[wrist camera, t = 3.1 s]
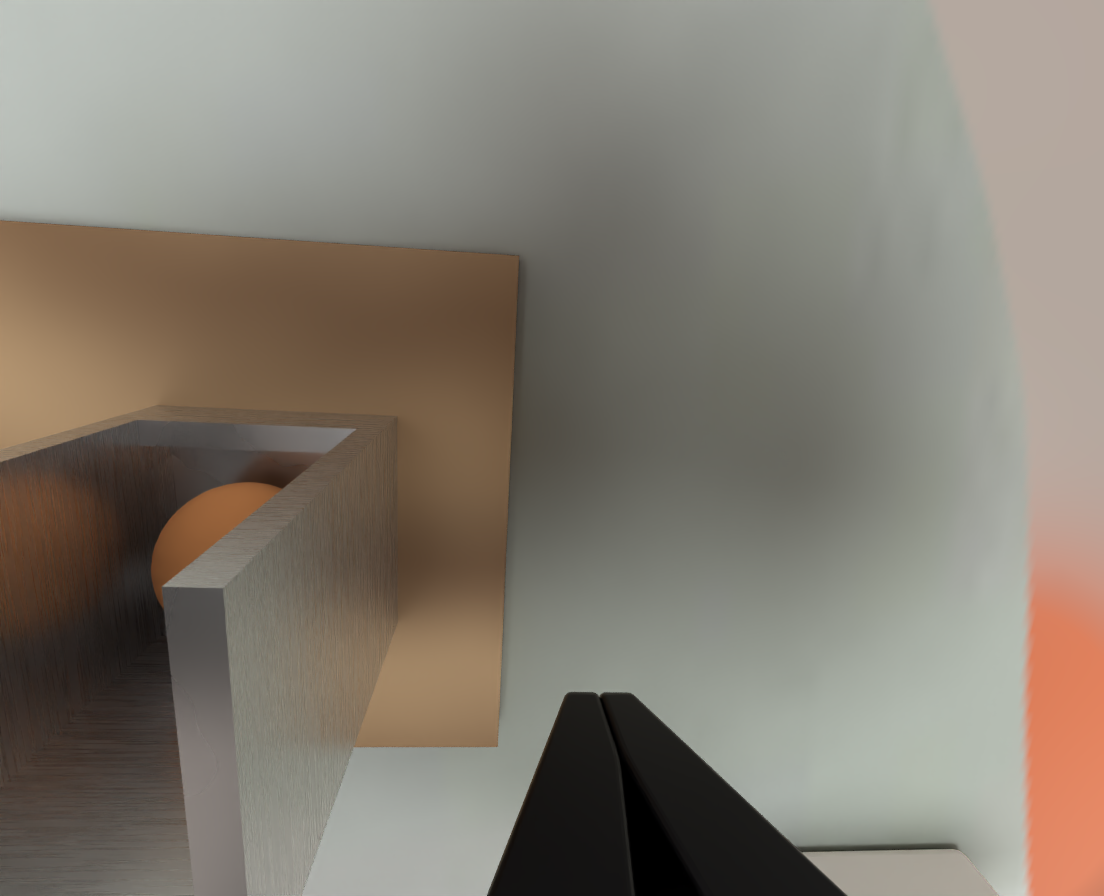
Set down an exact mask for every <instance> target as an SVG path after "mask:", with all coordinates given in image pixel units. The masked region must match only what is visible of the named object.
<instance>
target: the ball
mask: <svg viewBox="0 0 1104 896" xmlns="http://www.w3.org/2000/svg"><path fill="white" fill-rule="evenodd" d="M281 490H282V488H279V487H276V486H273V485H269V484H264V483H256V482H242V483H232V484H227V485H223V486H220V487H216V488H213V489H210V490H208V491H206V492H203V493H202V494H200V495H198V496H196V497H195V498H193V499H191V500H190V501H188V502H187V503H186V504H185V505H183V506H182V507H181V508H180V509H179V510H178V511H176V513H175V514H174V515H173V516H172V517H171V518H170V519H169V521H168V522H167V523H166V525H165V526H164V528H163V529H162V531H161V533H160V535H159V537H158V540H157V542H156V544H155V547H154V551H153V555H152V563H151V578H152V583H153V587H154V591H155V594H156V597H157V599H158V601H159V603H160V605H161V606H162V608H163V609H164V605H163V596H162V586H163V585H164V584H166V583H167V582H168V581H169V580H171V579H172V578H173V577H174V576H176V575H177V574H178V573H179V572H181V571H182V570H183V569H184V568H185V567H187V566H188V565H189V564H190V563H192V562H193V561H194V560H195V559H197V558H198V557H199V556H200V555H202V554H203V553H204V552H205V551H206V550H208V549H209V548H210V547H211V546H213V545H214V544H215V543H216V542H218V541H219V540H220V539H221V538H222V537H224V536H225V535H226V534H227V533H229V532H230V531H231V530H232V529H234V528H235V527H236V526H237V525H239V524H240V523H241V522H242V521H243V520H245V519H246V518H247V517H248V516H250V515H251V514H252V513H253V512H255V511H256V510H257V509H258V508H260V507H261V506H262V505H263V504H264V503H266V502H267V501H268V500H269V499H271V498H272V497H273V496H274V495H276V494H277V493H278V492H279V491H281Z"/></svg>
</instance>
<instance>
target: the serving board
mask: <svg viewBox="0 0 1104 896" xmlns="http://www.w3.org/2000/svg"><path fill="white" fill-rule="evenodd" d="M518 271H519V256H515V255H501V254H486V253H471V252H457V251H442V250H427V249H412V248H398V247H383V246H368V245H353V244H339V243H324V242H309V241H294V240H280V239H265V238H250V237H235V236H221V235H206V234H191V233H176V232H162V231H147V230H132V229H118V228H103V227H88V226H73V225H59V224H44V223H29V222H14V221H0V449H4V448H7V447H11V446H14V445H18V444H22V443H25V442H29V441H32V440H36V439H39V438H43V437H46V436H50V435H53V434H57V433H60V432H64V431H67V430H71V429H74V428H78V427H81V426H85V425H88V424H92V423H95V422H99V421H102V420H106V419H110V418H113V417H117V416H120V415H124V414H127V413H131V412H134V411H138V410H141V409H145V408H148V407H152V406H155V405H165V406H187V407H209V408H232V409H254V410H277V411H299V412H322V413H344V414H367V415H389V416H397V492H398V623H397V626H396V629H395V632H394V635H393V637H392V640H391V643H390V646H389V649H388V652H387V654H386V657H385V660H384V663H383V666H382V669H381V671H380V674H379V677H378V680H377V683H376V686H375V688H374V691H373V694H372V697H371V700H370V703H369V705H368V708H367V711H366V714H365V717H364V720H363V723H362V725H361V728H360V731H359V734H358V737H357V740H356V742H355V745H354V747H498V727H499V704H500V682H501V659H502V636H503V613H504V590H505V568H506V545H507V522H508V499H509V476H510V454H511V431H512V408H513V385H514V362H515V339H516V317H517V294H518Z"/></svg>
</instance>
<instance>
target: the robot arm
mask: <svg viewBox="0 0 1104 896" xmlns="http://www.w3.org/2000/svg"><path fill="white" fill-rule="evenodd" d="M487 896H847V895H846V894H845V893H844V892H843V891H842V890H841V889H840V888H839V887H838V886H837V885H836V884H835V883H834V882H832V881H831V880H830V879H829V878H828V877H827V876H826V875H825V874H824V873H823V872H822V871H821V870H820V869H819V868H818V867H817V866H815V865H814V864H813V863H812V862H811V861H810V860H809V859H808V858H807V857H806V856H805V855H804V854H803V853H802V852H801V851H799V850H798V849H797V848H796V847H795V846H794V845H793V844H792V843H791V842H790V841H789V840H788V839H787V838H786V837H785V836H784V835H782V834H781V833H780V832H779V831H778V830H777V829H776V828H775V827H774V826H773V825H772V824H771V823H770V822H769V821H768V820H766V819H765V818H764V817H763V816H762V815H761V814H760V813H759V812H758V811H757V810H756V809H755V808H754V807H753V806H752V805H750V804H749V803H748V802H747V801H746V800H745V799H744V798H743V797H742V796H741V795H740V794H739V793H738V792H737V791H736V790H735V789H733V788H732V787H731V786H730V785H729V784H728V783H727V782H726V781H725V780H724V779H723V778H722V777H721V776H720V775H719V774H717V773H716V772H715V771H714V770H713V769H712V768H711V767H710V766H709V765H708V764H707V763H706V762H705V761H704V760H703V759H702V758H700V757H699V756H698V755H697V754H696V753H695V752H694V751H693V750H692V749H691V748H690V747H689V746H688V745H687V744H686V743H684V742H683V741H682V740H681V739H680V738H679V737H678V736H677V735H676V734H675V733H674V732H673V731H672V730H671V729H670V728H668V727H667V726H666V725H665V724H664V723H663V722H662V721H661V720H660V719H659V718H658V717H657V716H656V715H655V714H654V713H653V712H651V711H650V710H649V709H648V708H647V707H646V706H645V705H644V704H643V703H642V702H641V701H640V700H639V699H638V698H637V697H635V696H634V695H633V694H631V693H622V692H604V693H602V694H601V695H600V696H598V694H596V693H594V692H569V693H567V694H566V695H565V697H564V699H563V702H562V705H561V707H560V710H559V712H558V715H557V717H556V720H555V722H554V725H553V728H552V730H551V733H550V735H549V738H548V740H547V743H546V746H545V748H544V751H543V753H542V756H541V758H540V761H539V763H538V766H537V769H536V771H535V774H534V776H533V779H532V781H531V784H530V786H529V789H528V792H527V794H526V797H525V799H524V802H523V804H522V807H521V810H520V812H519V815H518V817H517V820H516V822H515V825H514V827H513V830H512V833H511V835H510V838H509V840H508V843H507V845H506V848H505V850H504V853H503V856H502V858H501V861H500V863H499V866H498V868H497V871H496V874H495V876H494V879H493V881H492V884H491V886H490V889H489V891H488V894H487Z"/></svg>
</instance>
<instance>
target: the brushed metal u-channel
mask: <svg viewBox="0 0 1104 896" xmlns="http://www.w3.org/2000/svg"><path fill="white" fill-rule="evenodd" d="M242 482H256V483H264V484H269V485H273V486H276V487H279V488H282V490H281V491H279V492H278V493H277V494H276V495H274V496H273V497H272V498H271V499H269V500H268V501H267V502H266V503H264V504H263V505H262V506H261V507H260V508H258V509H257V510H256V511H255V512H253V513H252V514H251V515H250V516H248V517H247V518H246V519H245V520H243V521H242V522H241V523H240V524H239V525H237V526H236V527H235V528H234V529H232V530H231V531H230V532H229V533H227V534H226V535H225V536H224V537H222V538H221V539H220V540H219V541H218V542H216V543H215V544H214V545H213V546H211V547H210V548H209V549H208V550H206V551H205V552H204V553H203V554H202V555H200V556H199V557H198V558H197V559H195V560H194V561H193V562H192V563H190V564H189V565H188V566H187V567H185V568H184V569H183V570H182V571H181V572H179V573H178V574H177V575H176V576H174V577H173V578H172V579H171V580H169V581H168V582H167V583H166V584H164V585H163V586H162V596H163V605H164V609H163V608H162V606H161V605H160V603H159V601H158V599H157V597H156V594H155V591H154V587H153V583H152V578H151V563H152V555H153V551H154V547H155V544H156V542H157V540H158V537H159V535H160V533H161V531H162V529H163V528H164V526H165V525H166V523H167V522H168V521H169V519H170V518H171V517H172V516H173V515H174V514H175V513H176V511H178V510H179V509H180V508H181V507H182V506H183V505H185V504H186V503H187V502H188V501H190V500H191V499H193V498H195V497H196V496H198V495H200V494H202V493H203V492H206V491H208V490H210V489H213V488H216V487H220V486H223V485H227V484H232V483H242ZM397 623H398V492H397V416H389V415H367V414H344V413H322V412H299V411H277V410H254V409H232V408H209V407H187V406H165V405H155V406H152V407H148V408H145V409H141V410H138V411H134V412H131V413H127V414H124V415H120V416H117V417H113V418H110V419H106V420H102V421H99V422H95V423H92V424H88V425H85V426H81V427H78V428H74V429H71V430H67V431H64V432H60V433H57V434H53V435H50V436H46V437H43V438H39V439H36V440H32V441H29V442H25V443H22V444H18V445H14V446H11V447H7V448H4V449H0V896H302V893H303V890H304V887H305V884H306V881H307V879H308V876H309V873H310V870H311V867H312V864H313V862H314V859H315V856H316V853H317V850H318V847H319V845H320V842H321V839H322V836H323V833H324V830H325V828H326V825H327V822H328V819H329V816H330V813H331V810H332V808H333V805H334V802H335V799H336V796H337V793H338V791H339V788H340V785H341V782H342V779H343V776H344V774H345V771H346V768H347V765H348V762H349V759H350V757H351V754H352V751H353V748H354V745H355V742H356V740H357V737H358V734H359V731H360V728H361V725H362V723H363V720H364V717H365V714H366V711H367V708H368V705H369V703H370V700H371V697H372V694H373V691H374V688H375V686H376V683H377V680H378V677H379V674H380V671H381V669H382V666H383V663H384V660H385V657H386V654H387V652H388V649H389V646H390V643H391V640H392V637H393V635H394V632H395V629H396V626H397Z"/></svg>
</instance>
